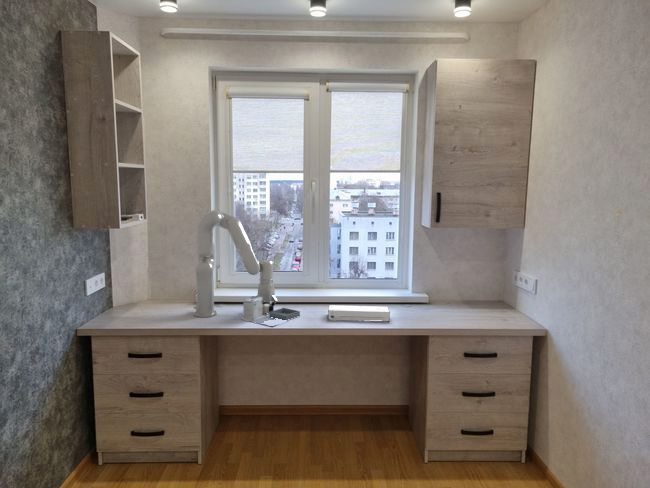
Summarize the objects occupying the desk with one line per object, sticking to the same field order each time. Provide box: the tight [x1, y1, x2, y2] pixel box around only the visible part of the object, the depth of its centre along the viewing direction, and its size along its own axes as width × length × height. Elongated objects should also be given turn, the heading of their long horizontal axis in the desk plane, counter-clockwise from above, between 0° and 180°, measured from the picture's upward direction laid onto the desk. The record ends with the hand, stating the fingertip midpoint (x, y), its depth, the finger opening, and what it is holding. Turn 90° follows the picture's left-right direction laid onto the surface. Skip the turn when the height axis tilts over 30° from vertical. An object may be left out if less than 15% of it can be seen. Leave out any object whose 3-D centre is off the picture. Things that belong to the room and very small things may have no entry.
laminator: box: [327, 304, 391, 322], centre depth 248 cm, size 34×12×6 cm, turn 88°
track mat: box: [239, 314, 276, 325], centre depth 241 cm, size 24×12×1 cm, turn 54°
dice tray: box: [268, 307, 301, 321], centre depth 249 cm, size 12×12×3 cm
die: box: [262, 303, 270, 315], centre depth 257 cm, size 5×5×5 cm
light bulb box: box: [242, 295, 263, 320], centre depth 245 cm, size 11×7×11 cm, turn 161°
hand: (266, 311), depth 257 cm, fingers open, 6 cm apart
